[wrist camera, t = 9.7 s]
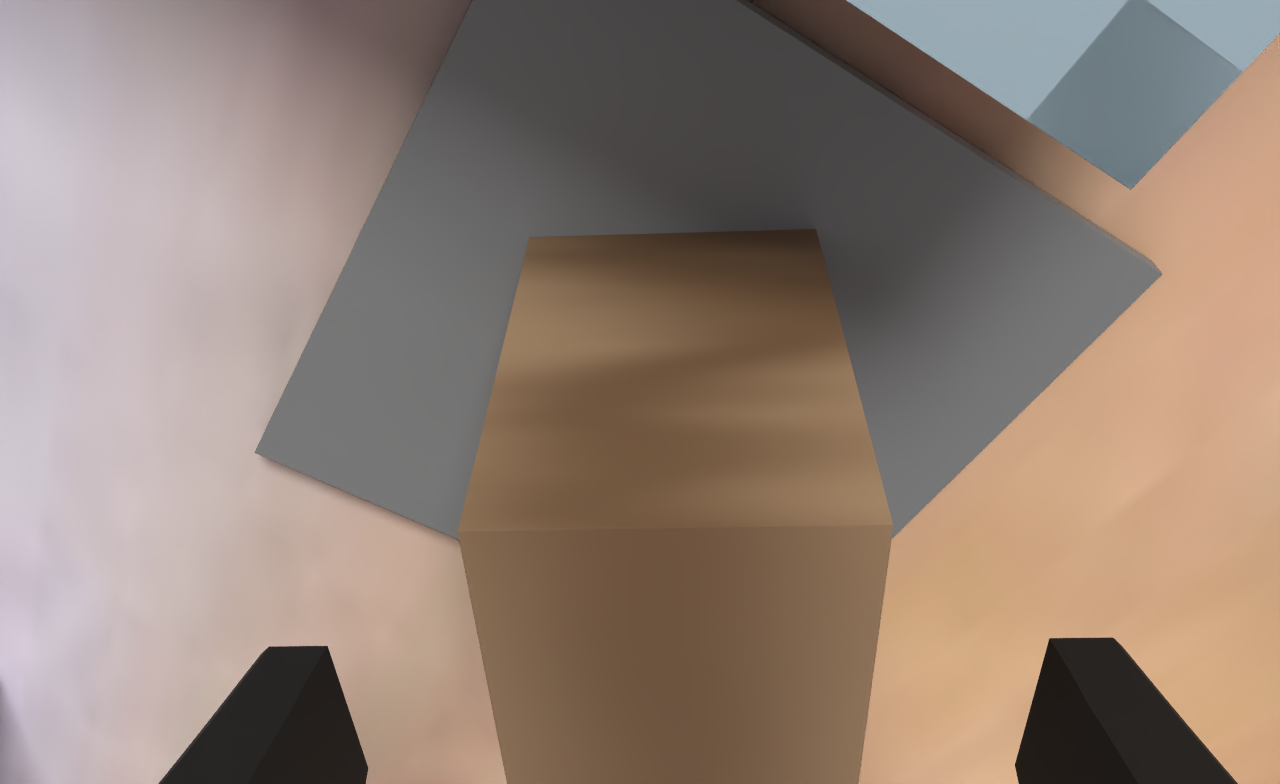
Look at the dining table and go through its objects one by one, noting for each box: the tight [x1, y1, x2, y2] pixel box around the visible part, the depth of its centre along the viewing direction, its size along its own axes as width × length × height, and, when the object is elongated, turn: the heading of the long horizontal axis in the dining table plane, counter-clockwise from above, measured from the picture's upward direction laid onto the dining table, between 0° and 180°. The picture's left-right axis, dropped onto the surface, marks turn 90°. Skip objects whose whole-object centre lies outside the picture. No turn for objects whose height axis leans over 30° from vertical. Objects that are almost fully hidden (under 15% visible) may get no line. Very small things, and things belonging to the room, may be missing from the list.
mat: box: [255, 0, 1162, 540], centre depth 16 cm, size 10×10×1 cm
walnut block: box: [458, 229, 893, 784], centre depth 13 cm, size 4×4×6 cm
